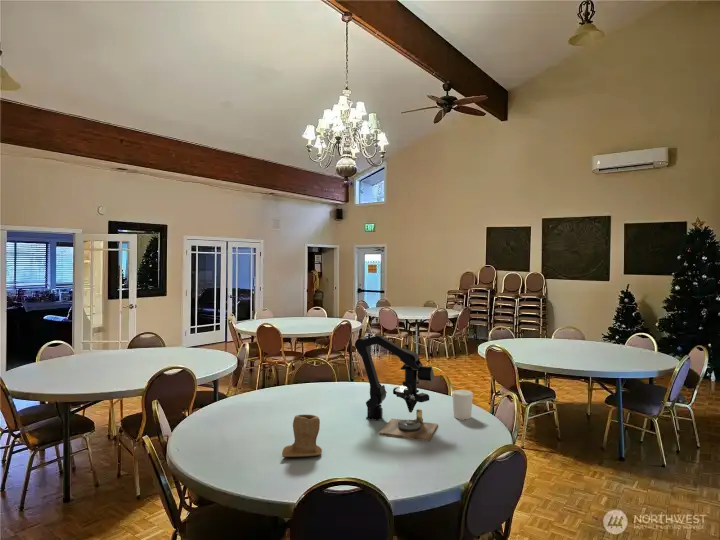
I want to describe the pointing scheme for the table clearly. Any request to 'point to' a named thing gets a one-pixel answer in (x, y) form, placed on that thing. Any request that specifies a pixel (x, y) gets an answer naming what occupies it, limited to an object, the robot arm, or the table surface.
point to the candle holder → (462, 404)
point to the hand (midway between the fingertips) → (410, 412)
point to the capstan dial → (411, 423)
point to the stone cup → (304, 437)
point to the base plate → (422, 434)
